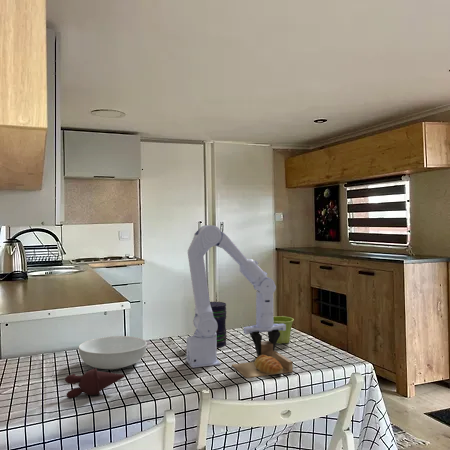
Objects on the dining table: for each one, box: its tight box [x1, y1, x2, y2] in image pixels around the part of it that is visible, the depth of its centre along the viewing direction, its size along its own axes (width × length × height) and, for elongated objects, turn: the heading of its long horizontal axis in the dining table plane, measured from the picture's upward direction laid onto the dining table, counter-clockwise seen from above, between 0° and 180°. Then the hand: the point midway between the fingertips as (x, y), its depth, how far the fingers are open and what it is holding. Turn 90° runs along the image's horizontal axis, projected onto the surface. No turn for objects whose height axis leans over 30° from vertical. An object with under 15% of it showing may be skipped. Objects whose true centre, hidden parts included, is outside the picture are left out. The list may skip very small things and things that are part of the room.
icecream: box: [64, 367, 126, 399], centre depth 114 cm, size 7×7×15 cm
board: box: [231, 350, 294, 379], centre depth 133 cm, size 15×12×3 cm
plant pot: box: [273, 315, 295, 345], centre depth 164 cm, size 9×9×9 cm
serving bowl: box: [78, 335, 148, 371], centre depth 138 cm, size 21×21×7 cm
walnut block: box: [256, 340, 273, 358], centre depth 144 cm, size 4×4×5 cm
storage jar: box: [210, 301, 227, 348], centre depth 161 cm, size 10×10×15 cm
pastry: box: [253, 355, 283, 375], centre depth 130 cm, size 9×7×4 cm
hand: (265, 353), depth 144 cm, fingers closed on walnut block, 4 cm apart
